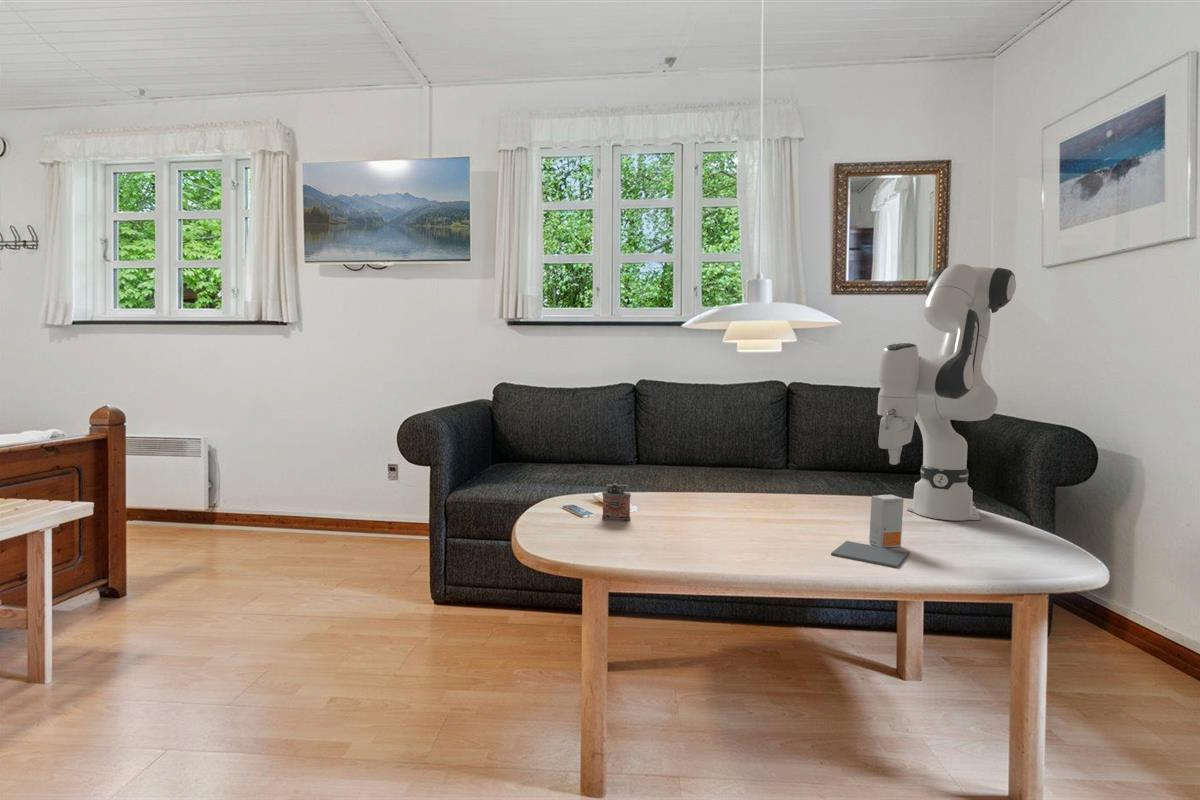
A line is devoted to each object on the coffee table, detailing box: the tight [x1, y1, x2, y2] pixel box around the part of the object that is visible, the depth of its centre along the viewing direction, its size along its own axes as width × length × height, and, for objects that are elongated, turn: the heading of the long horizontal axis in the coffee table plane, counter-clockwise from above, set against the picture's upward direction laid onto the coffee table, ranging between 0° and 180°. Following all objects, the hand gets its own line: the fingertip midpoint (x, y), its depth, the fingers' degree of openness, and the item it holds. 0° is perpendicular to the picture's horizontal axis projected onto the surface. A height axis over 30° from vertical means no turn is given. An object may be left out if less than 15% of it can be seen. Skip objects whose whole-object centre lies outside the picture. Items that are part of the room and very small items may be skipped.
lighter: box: [601, 483, 632, 523], centre depth 170 cm, size 8×3×10 cm, turn 73°
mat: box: [830, 540, 910, 569], centre depth 141 cm, size 12×14×1 cm
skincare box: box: [868, 494, 904, 548], centre depth 148 cm, size 6×4×12 cm
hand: (894, 463), depth 152 cm, fingers closed
